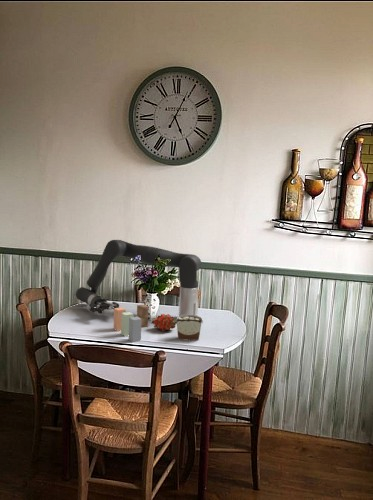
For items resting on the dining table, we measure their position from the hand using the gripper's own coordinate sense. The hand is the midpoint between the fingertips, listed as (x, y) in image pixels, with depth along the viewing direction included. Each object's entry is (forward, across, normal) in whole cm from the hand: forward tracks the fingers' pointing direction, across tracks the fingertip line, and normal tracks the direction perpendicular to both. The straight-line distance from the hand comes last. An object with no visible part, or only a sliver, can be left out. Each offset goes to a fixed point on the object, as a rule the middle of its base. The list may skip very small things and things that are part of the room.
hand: (109, 310), depth 225 cm
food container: (+34, +23, +6) cm, 42 cm away
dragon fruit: (+21, +18, +6) cm, 29 cm away
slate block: (+27, 0, +6) cm, 28 cm away
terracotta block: (+11, 0, +6) cm, 13 cm away
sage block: (+19, 0, +6) cm, 20 cm away
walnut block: (+11, +12, +6) cm, 17 cm away
